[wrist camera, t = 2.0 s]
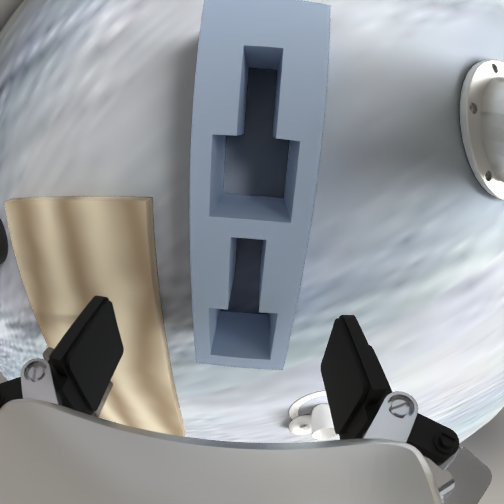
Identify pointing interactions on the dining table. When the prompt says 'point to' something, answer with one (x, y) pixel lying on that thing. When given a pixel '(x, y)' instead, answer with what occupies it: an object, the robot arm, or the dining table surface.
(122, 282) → the board
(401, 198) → the dining table surface
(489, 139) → the robot arm
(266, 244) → the blue slotted peg holder
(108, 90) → the dining table surface
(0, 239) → the travel mug
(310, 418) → the white curved piece
